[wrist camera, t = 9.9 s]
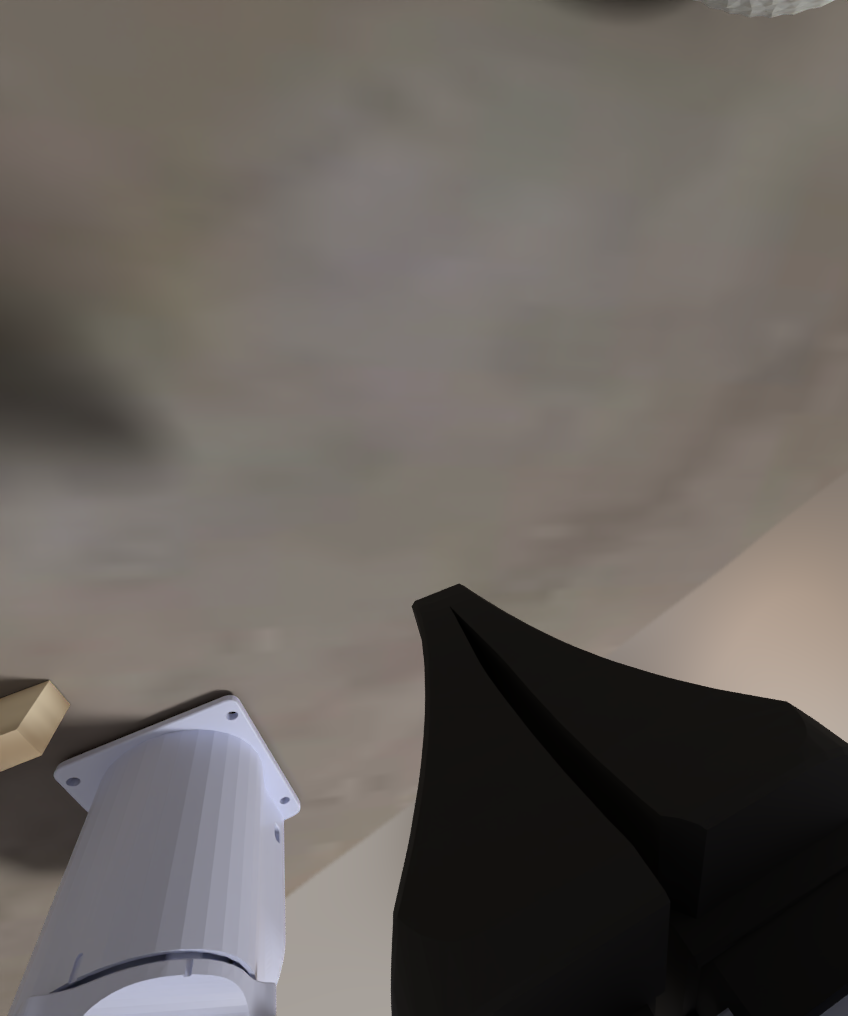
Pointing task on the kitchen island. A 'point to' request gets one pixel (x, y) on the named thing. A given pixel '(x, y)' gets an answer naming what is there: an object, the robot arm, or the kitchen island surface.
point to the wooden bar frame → (29, 722)
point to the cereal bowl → (764, 6)
